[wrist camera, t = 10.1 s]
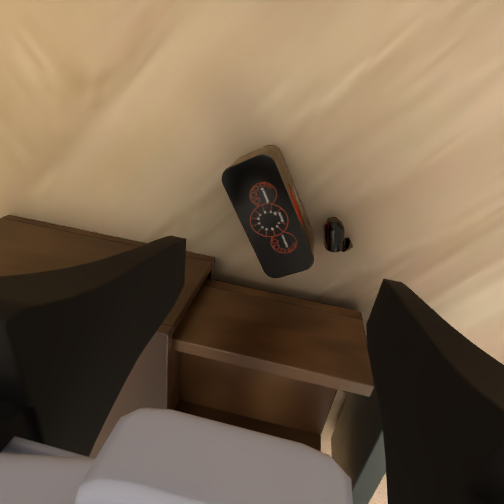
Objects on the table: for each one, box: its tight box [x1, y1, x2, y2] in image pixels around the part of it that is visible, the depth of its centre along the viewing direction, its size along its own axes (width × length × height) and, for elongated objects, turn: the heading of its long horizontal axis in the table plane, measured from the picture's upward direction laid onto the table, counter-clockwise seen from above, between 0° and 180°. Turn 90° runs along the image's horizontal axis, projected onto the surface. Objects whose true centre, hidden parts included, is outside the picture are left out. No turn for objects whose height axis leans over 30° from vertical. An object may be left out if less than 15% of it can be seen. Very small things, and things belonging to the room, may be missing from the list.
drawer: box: [171, 279, 386, 504], centre depth 21 cm, size 20×13×6 cm, turn 83°
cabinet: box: [0, 215, 215, 458], centre depth 22 cm, size 15×14×8 cm
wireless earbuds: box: [222, 145, 353, 278], centre depth 18 cm, size 5×7×3 cm, turn 24°
